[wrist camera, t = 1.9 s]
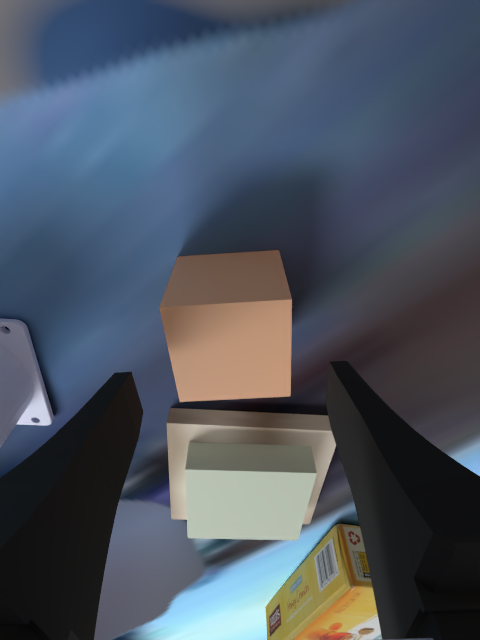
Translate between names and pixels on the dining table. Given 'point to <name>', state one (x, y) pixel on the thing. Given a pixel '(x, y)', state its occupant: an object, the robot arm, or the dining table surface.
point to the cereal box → (327, 594)
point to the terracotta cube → (229, 326)
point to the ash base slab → (244, 442)
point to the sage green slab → (247, 490)
